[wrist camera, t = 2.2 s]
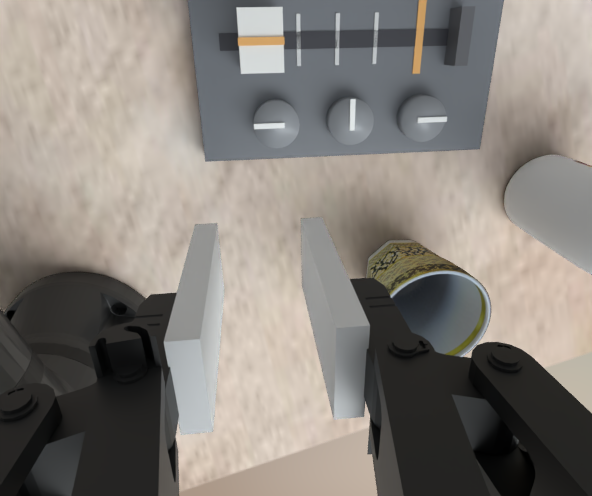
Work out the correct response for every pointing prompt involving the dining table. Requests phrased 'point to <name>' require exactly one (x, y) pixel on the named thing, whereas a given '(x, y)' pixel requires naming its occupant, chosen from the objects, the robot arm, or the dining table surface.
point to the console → (347, 78)
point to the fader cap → (260, 39)
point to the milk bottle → (554, 206)
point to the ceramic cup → (433, 295)
